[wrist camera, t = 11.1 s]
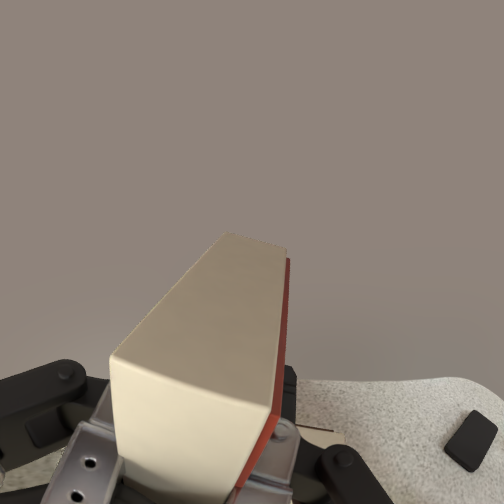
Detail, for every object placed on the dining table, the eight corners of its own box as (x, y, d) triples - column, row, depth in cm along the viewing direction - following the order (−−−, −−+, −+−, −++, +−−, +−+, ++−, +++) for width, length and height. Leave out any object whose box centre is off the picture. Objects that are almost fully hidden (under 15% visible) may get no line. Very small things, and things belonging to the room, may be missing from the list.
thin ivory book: (231, 434, 15) (292, 249, 11) (197, 558, 7) (286, 413, 4) (186, 421, 15) (224, 230, 11) (136, 539, 7) (106, 355, 4)
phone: (444, 446, 30) (473, 408, 38) (441, 449, 30) (471, 411, 38) (476, 472, 24) (499, 427, 32) (472, 475, 24) (496, 431, 32)
